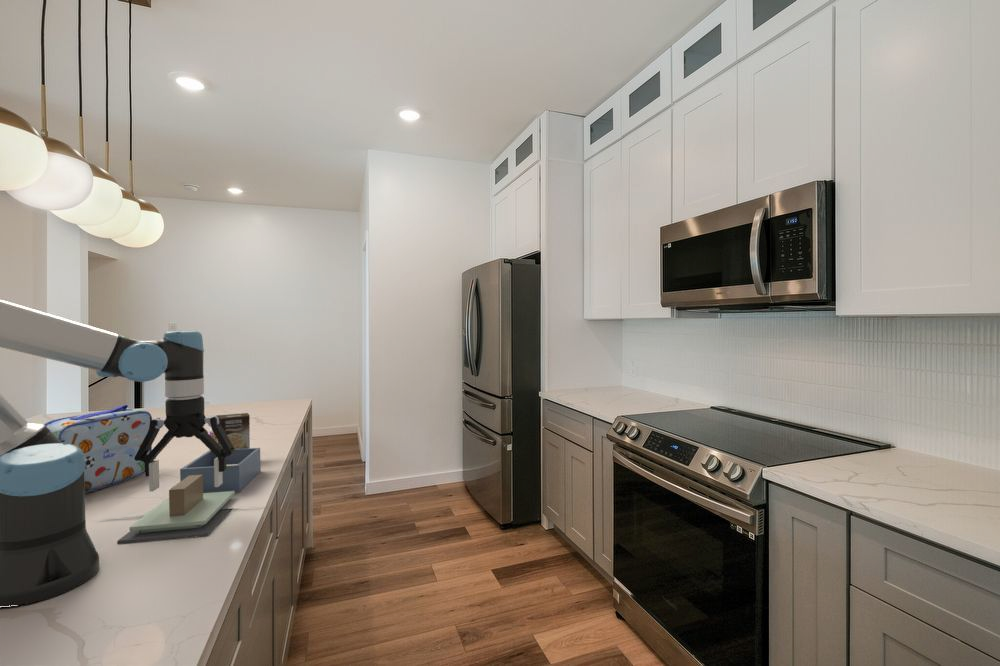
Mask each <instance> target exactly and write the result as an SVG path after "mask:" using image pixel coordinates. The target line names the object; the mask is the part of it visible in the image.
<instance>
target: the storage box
mask: <svg viewBox="0 0 1000 666" xmlns="http://www.w3.org/2000/svg"><path fill="white" fill-rule="evenodd" d="M216 458H217V456H216V455H215V454H214V453H213V452H212V451H211V450H210V449H209V450H208V451H206V452H204V453H203V454H202V455H200V456H198V457H197V458H195V459H194V460H192V461H190V462H189V463H188V464H186V465H184V466H182V467H181V468H180V469H179V476H180V481H179V482H181V481H182V480H184V479H185V478H186V477H188V476H189V475H203V493H212V492H226V491H235V494H239V493H240V494H241V492H242V491H243V490H244V489H245V488H246V487H247V486H248V485H249V484H250V483H251V482H252V481H253V480H254V478H256V477H257V476H258V475H259V474H260V473H261V447H250V448H246V449H235V452H234V453H232V454H231V455H229V456H227V457H226V465H228V466H227V468H226V470H225V471H223V472H222V481H223V483H222V484H221V485H220V486H219V487H215V486H214V459H216ZM232 464H237V465H232Z"/></svg>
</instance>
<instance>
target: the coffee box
mask: <svg viewBox="0 0 1000 666" xmlns="http://www.w3.org/2000/svg"><path fill="white" fill-rule="evenodd" d="M218 416H219V417H220V423H221V426H222V428H223V429H224V431H225V433H226V435H227V436H228V438H229V440H230V442H231V443H232V445H233V447H234V448H235V449H246V448H251V447H250V443H251V442H250V437H251V436H250V419H251V417H250V414H249V413H248V412H246V413H245V412H243V413H233V414H232V413H230V414H219V415H218ZM217 443H218V444H219V445H220V446H221V444H220V443H219V441H218V439H217ZM221 447H222V446H221Z"/></svg>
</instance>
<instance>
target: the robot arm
mask: <svg viewBox="0 0 1000 666" xmlns="http://www.w3.org/2000/svg"><path fill="white" fill-rule="evenodd" d="M0 348H2V349H7V350H11V351H14V352H19V353H23V354H26V355H30V356H31V355H32V356H35V357H40V358H44V359H46V360H47V359H48V360H52V361H56V362H60V363H64V364H69V365H73V366H77V367H81V368H86V369H90V370H93V371H95V373H96V375H97V376H99V378H105V377H106V378H108V377H109V378H117V377H119V378H120V377H121V378H126V379H127V380H129V381H132V382H138V383H144V382H150V381H154V380H155V379H157V378H159V377H161V376H162V375H163V374H164V396H165V397H166V398H167V399H166V400H165V419H163V418H160V417H155V418H154V419H153V418H152V420H151V421H150V426H149V431H148V433H147V435H146V437H145V438H144V440H143V442H142V444H141V446H140V448H139V450H138V452H137V454H136V456H135V458H134V459H135V460H136V461H143V462H144V463H145V473H144V476H145V477H148V480H149V481H148V482H149V483H148V486H149V487H148V488H149V490H148V491H149V493H150V492H152V493H153V492H154V491H156V490H157V489H159V488H160V460H159V459H157V456H158V455H159V454H160V453H161V452H162V451H163V450H164V449H165V448H166V446H167V445H168V444H169V443H170V442H171V441H172V440H173V439H174V438H175V437H176V439H181V438H193V437H195V438H196V439H198V440H200V442H201V443H203V444H204V446H206V447H207V448H208V449H209V450H211V451H212V452H213V453H214V454H215V455H216V456H217V458H216V459H214V486H215V487H219V486H220V485H221V484H222V483H223V481H222V472H223V471H225V470H226V468H227V466H226V457H227V456H229V455H231V454H232V453H234V452H235V448H234V447H233V445H232V443H231V442H230V440H229V438H228V436H227V435H226V433H225V431H224V429H223V428H222V426H221V423H220V417H219V416H218V415H215V416H211V417H206V416H205V397H204V396H203V395H204V394H205V378H204V377H205V375H204V352H205V349H204V341H203V334H202V333H201V332H199V331H197V330H194V331H192V330H189V331H187V330H184V331H183V330H178V331H166V332H164V333H163V337H162V339H157V340H139V339H136V338H135V339H134V338H132V337H129V336H125V335H122V334H121V335H120V334H117V333H115V332H111V331H108V330H105V329H101V328H99V327H94V326H92V325H88V324H85V323H84V324H83V323H81V322H78V321H74V320H70V319H68V318H64V317H61V316H57V315H54V314H51V313H46V312H43V311H41V310H37V309H33V308H30V307H26V306H24V305H20V304H17V303H13V302H9V301H7V300H4V299H0ZM44 424H45V423H37V422H34V423H33V422H29V421H28V420H26V418H25V417H23V415H21V414H20V413H19V411H18V410H17V409H16V408H15V407H14V406H13V405H12V404H11V403H10V402H9V401H8V400H7V398H5V397H4V396H3V395H2V394H1V393H0V606H9V605H10V606H11V605H21V606H23V605H22V604H26V605H29V604H28V603H30V604H34V603H37V602H36V601H38V602H41V601H44V600H45V601H46V600H47V599H50V598H54V597H56V596H59V595H62V594H64V593H66V592H69V591H71V590H73V589H75V588H77V587H79V586H80V585H83V584H84V583H86V582H87V581H89V580H90V579H92V578H93V577H94V576H95V575H96V574H97V573H98V572H99V570H100V555H99V553H98V551H97V549H96V547H95V544H94V543H93V541H92V539H91V537H90V535H89V532H88V531H87V527H86V526H87V523H86V493H85V479H84V469H85V467H86V462H85V459H84V455H83V451H82V450H81V449H80V448H79V447H77V446H74V445H71V444H68V445H66V444H64V443H63V442H61V441H60V440H59V439H58V438H57V437H56V436H55V435H54V434H53V433H52V432H51V431H50V430H49V429H48V428H47V427H46V426H45V425H44ZM206 424H207V425H208V427H210V428H212V431H213V432H214V434H215V436H216V438H217V439H218V441H219V443H220V444H221V446H222V447H221V446H220V445H219V444H218V443H217V442H216V441H215V440H214V439H213V438H212V437H211V436H210V433H209V431H208V430H207V429H206V428H205V425H206ZM163 426H164V427H166V429H167V431H166V433H165V434H164V435H163V436H162V438H161V439H160V441H158V443H157V444H156V445H155V446H154V447H152V451H151V452H150V453H149V454H148V455H147V453H148V451H149V449H150V447H151V446H153V443H154V441H155V440H156V438H157V436H158V434H159V432H160V429H161V428H163ZM33 602H34V603H33Z"/></svg>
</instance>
